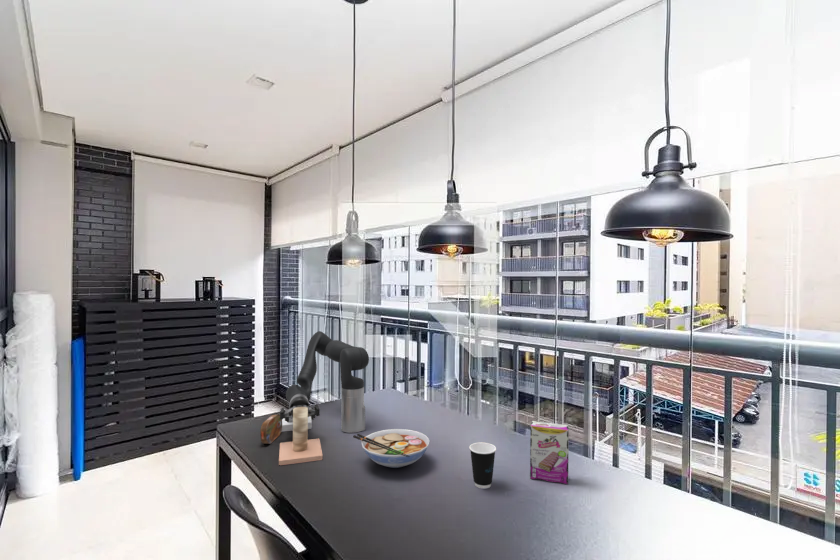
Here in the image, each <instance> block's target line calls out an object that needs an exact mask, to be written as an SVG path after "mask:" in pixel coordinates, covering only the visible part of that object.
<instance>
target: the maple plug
mask: <svg viewBox="0 0 840 560" xmlns="http://www.w3.org/2000/svg"><path fill="white" fill-rule="evenodd" d="M308 430H309V429H308V408H307V407H296V408H294V409H293V431H292V441H293V451H296V452H300V451H305V450H307V448H308V440H309V439H308V437H309V434H308V432H309V431H308Z"/></svg>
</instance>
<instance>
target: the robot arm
mask: <svg viewBox="0 0 840 560" xmlns="http://www.w3.org/2000/svg"><path fill="white" fill-rule="evenodd" d="M316 353H317V354H319V355H321V356H323V357H324V356H325V357H327V358H328V359H330V360H331V361H333V362H337V363H339V368H340V371H339V372H340V384H341V387H340V388H341V390H340V393H341V396H340V397H341V398H340V399H341V401H340V404H341V406H340V407H341V409H340V411H341V412H340V415H341V422H340V424H341V425H340V426H341V431H342V432H344V433H347V434H348V433H349V434H353V433H354V434H355V433H359V432H361V431H366V406H365V381H364V379H363V378H361V377H357V376H353V374H352V373H353V372H355V371H361V370H364V369H365V368H367V366H368V364H369V362H370V356H369V352H367V350H366V349H365V348H363V347H361V346H360V347H359V346H353V345H351V344H348V343H346V342H343V341H341V340H338V339H334V340H333V339H332V338H331V337H330V336H328V335H327V334H326V333H324V331H320V330H319V331H317V332H315V333H314V334H313V335H312V336H311V337H310V340H309V342H308V344H307V348H306V352H305V357H304V360H303V364H302V367H301V369H300V371H299V373H298V375H297V377H296V383H297V384H290V385H289V387H287V390H286V391H285V398H286V401H288V403H289V407H288V409H285V408H284V407H281V408H280V411H279V415H280V419H281V420H282V419H283V418H285V421H287V422H289V418H290V419H292V418H293V409H294V408H296V407H307V408H308V417H310V416H311V421H313V420H314V419H316V417H318V416H319V417H320V407H319V405H318V404H315V405H314V406H313V407H311V406H310V400H311V398H312V397H311V396H312V386H313V381H314V379H315V377H316V373H317V371H318V370H317V369H318V367H317V366H318V365H317V359H316V358H317V356H316Z"/></svg>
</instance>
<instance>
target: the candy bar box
mask: <svg viewBox="0 0 840 560" xmlns="http://www.w3.org/2000/svg"><path fill="white" fill-rule="evenodd" d="M569 431H570V429H569V425H568V424H562V423H561V424H560V423H554V422H552V423H550V422H544V421H535V420H532V421H531V423H530V436H529V437H530V440H529V441H530V447H529V448H530V449H529V450H530V451H529V452H530V453H529V455H530V457H529V458H530V459H529V460H530V461H529V462H530V463H529V465H530V466H529V478H530V479H532V480H537V481H543V482H544V481H545V482H551V483H557V484H564V485H569V451H570V450H569V445H570V444H569V439H570V438H569V437H570V435H569V434H570V433H569Z"/></svg>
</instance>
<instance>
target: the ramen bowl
mask: <svg viewBox="0 0 840 560" xmlns="http://www.w3.org/2000/svg"><path fill="white" fill-rule="evenodd" d="M352 438H353V439H356V440H360V443H361V447H362V449H363V451H364V452H365V454H366V456H367V457H368V458H369V459H371V460H372V461H373V462H375V464H377V465H381V466H384V467H388V468H391V469H392V468H394V469H397V468H402V467H405V466H408V465H409V466H410V465H412V464H414V463H415V462H416V461H418V460H419V459H421V458H422V457H423V455H425V453H426V451H427V449H428V447H429V444H430V442H431V440H430V438H429V437H428V436H427V435H426V434H424V433H422V432H421V431H416V430H411V429H405V428H404V429H403V428H392V429H391V428H390V429H383V430H378V431H375V432H372V433H370V434H368V435H362V434H360V433H357V434H356V435H355V434H353V436H352Z"/></svg>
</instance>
